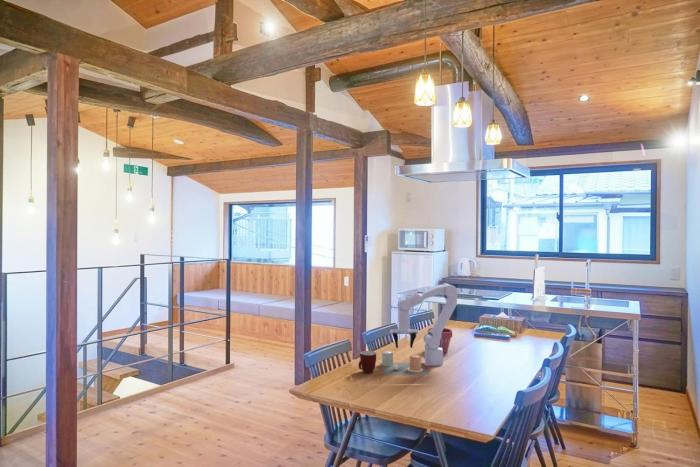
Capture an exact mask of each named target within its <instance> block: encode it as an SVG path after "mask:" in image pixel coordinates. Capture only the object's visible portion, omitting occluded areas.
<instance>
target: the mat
mask: <svg viewBox="0 0 700 467" xmlns="http://www.w3.org/2000/svg"><path fill="white" fill-rule="evenodd" d="M379 363H380V366H381V369H382V371H383V374H384V376H407V375H408V376H414V375H416V376H417V375H419V376H420V375H424V376H425V375H430V373H429V371H428V370H427V369H426V368H425V366H424V365H423V362H421V368H422V369H423V371H422V372H410V371H408V370H407V368H409V362H393V365H394V364H397V365H398V366H399V368H398V370H394V369H393V366H382V362H379Z"/></svg>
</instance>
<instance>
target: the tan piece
mask: <svg viewBox="0 0 700 467" xmlns="http://www.w3.org/2000/svg"><path fill="white" fill-rule="evenodd" d="M408 363H409V369H410V370H412V371H420V370H421V363H422V357H421V355H419V354H410V355H409V362H408Z"/></svg>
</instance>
